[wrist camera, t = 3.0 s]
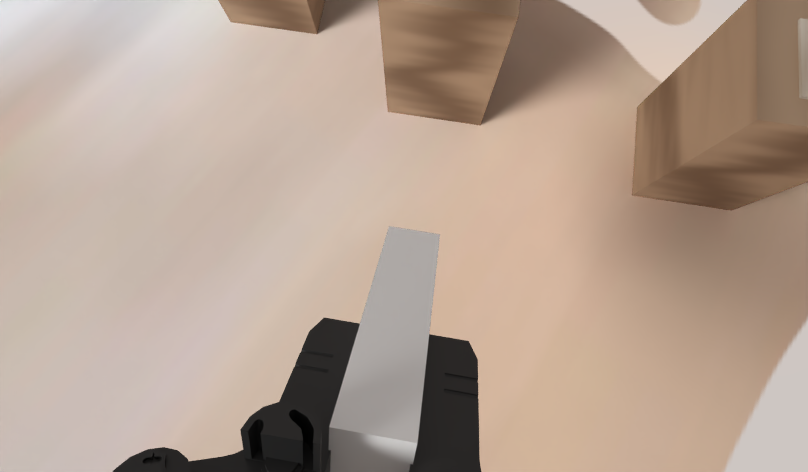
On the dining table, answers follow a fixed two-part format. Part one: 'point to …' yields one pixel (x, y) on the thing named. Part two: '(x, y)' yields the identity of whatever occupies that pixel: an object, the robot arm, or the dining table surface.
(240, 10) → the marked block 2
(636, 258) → the dining table surface
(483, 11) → the unmarked block
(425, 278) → the robot arm
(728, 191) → the marked block 1
